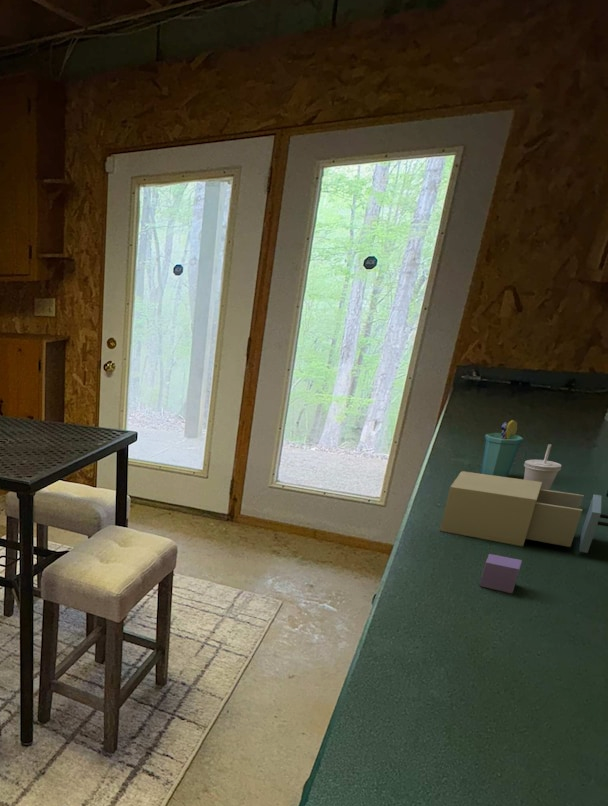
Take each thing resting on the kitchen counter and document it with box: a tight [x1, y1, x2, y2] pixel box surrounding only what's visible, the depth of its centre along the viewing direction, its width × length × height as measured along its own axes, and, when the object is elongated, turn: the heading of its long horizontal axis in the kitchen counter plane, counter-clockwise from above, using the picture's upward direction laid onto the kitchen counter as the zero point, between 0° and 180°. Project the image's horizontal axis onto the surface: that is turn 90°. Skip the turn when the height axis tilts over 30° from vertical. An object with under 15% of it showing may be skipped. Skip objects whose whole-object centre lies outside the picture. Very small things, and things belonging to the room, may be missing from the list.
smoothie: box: [523, 443, 563, 490], centre depth 138 cm, size 6×6×14 cm
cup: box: [480, 419, 524, 477], centre depth 157 cm, size 14×8×15 cm, turn 136°
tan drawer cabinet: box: [439, 470, 542, 547], centre depth 127 cm, size 14×14×10 cm
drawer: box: [525, 489, 608, 554], centre depth 119 cm, size 17×12×8 cm
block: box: [479, 553, 523, 594], centre depth 105 cm, size 4×4×4 cm
